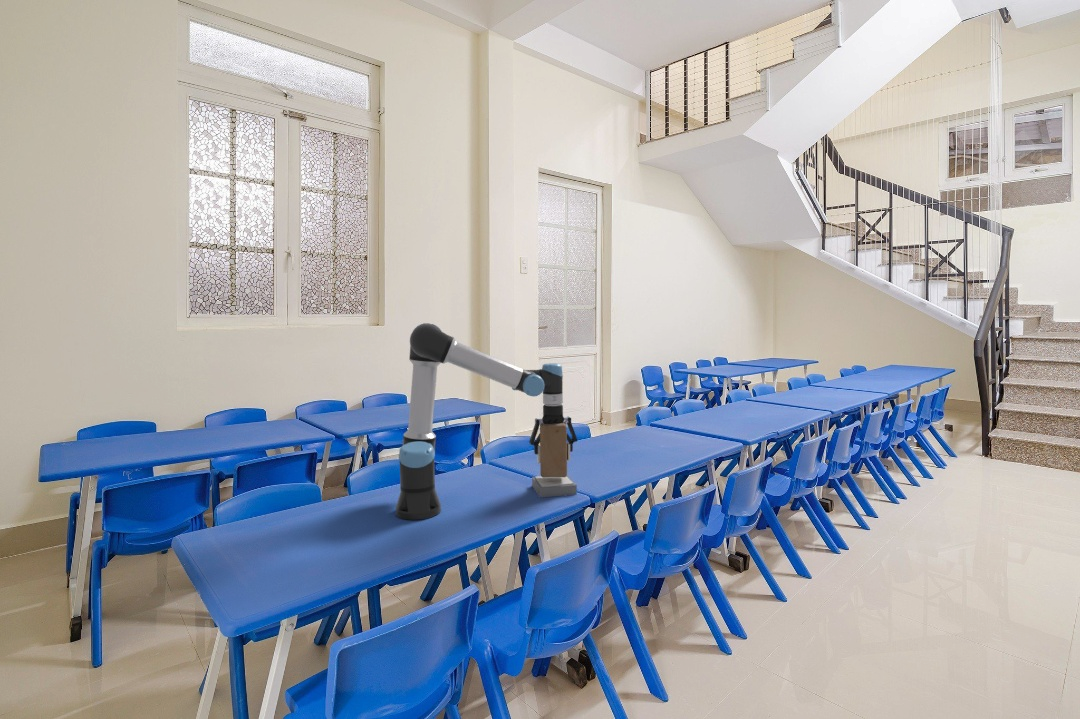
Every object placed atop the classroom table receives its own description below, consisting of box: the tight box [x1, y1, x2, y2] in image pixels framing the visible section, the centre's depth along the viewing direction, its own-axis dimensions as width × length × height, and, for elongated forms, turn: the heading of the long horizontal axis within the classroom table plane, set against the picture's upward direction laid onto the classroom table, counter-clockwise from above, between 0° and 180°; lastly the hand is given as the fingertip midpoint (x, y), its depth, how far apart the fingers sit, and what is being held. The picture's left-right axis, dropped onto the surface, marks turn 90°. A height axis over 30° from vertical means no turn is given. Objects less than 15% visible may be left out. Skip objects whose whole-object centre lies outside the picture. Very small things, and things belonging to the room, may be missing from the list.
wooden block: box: [539, 420, 568, 478], centre depth 218 cm, size 10×10×20 cm
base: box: [531, 475, 578, 498], centre depth 220 cm, size 14×14×4 cm
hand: (553, 461), depth 219 cm, fingers closed on wooden block, 11 cm apart
